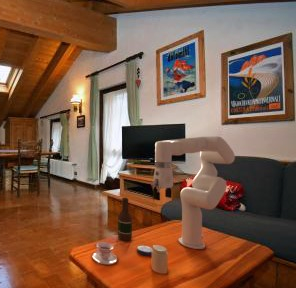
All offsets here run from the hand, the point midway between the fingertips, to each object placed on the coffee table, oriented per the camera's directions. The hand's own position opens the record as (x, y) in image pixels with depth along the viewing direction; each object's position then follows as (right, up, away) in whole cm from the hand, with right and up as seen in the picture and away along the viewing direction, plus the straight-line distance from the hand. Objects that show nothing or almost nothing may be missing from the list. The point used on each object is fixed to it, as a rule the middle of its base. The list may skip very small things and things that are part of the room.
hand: (162, 198), depth 110 cm
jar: (-8, -28, -14) cm, 32 cm away
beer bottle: (-14, -28, +16) cm, 36 cm away
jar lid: (-9, -27, +1) cm, 28 cm away
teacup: (-31, -28, -5) cm, 42 cm away
